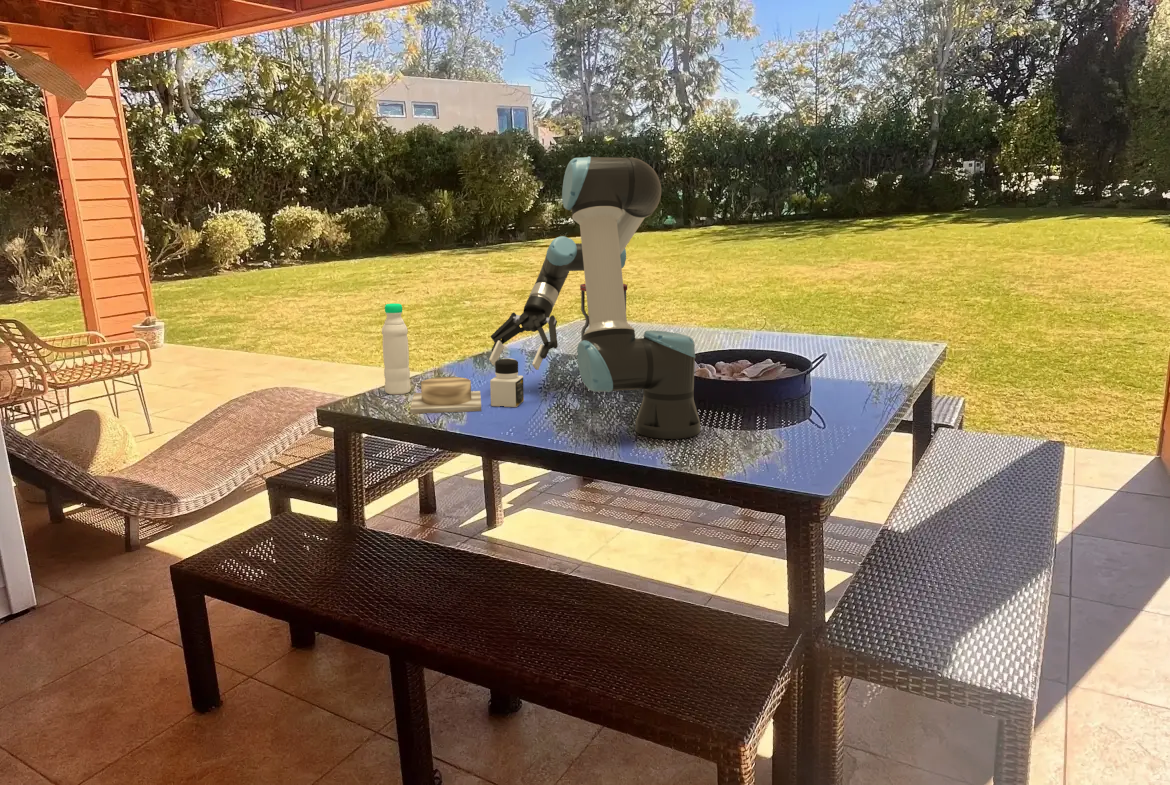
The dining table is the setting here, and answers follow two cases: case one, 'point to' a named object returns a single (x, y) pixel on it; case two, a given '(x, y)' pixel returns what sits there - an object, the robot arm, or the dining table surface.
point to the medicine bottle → (506, 384)
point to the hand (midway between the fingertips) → (513, 365)
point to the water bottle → (395, 351)
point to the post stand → (446, 396)
